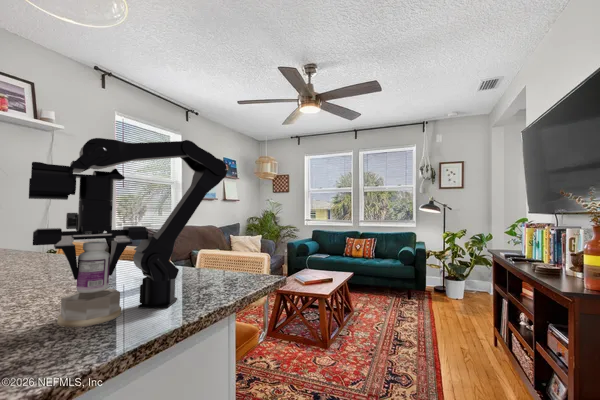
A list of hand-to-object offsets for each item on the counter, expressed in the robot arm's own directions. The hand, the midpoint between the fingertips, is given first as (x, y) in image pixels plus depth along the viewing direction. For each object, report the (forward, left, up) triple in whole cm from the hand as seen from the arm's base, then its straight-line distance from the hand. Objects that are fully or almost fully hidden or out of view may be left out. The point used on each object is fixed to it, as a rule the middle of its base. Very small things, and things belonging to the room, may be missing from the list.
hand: (93, 277), depth 59 cm
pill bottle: (0, 0, -3) cm, 3 cm away
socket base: (0, 0, -8) cm, 8 cm away
